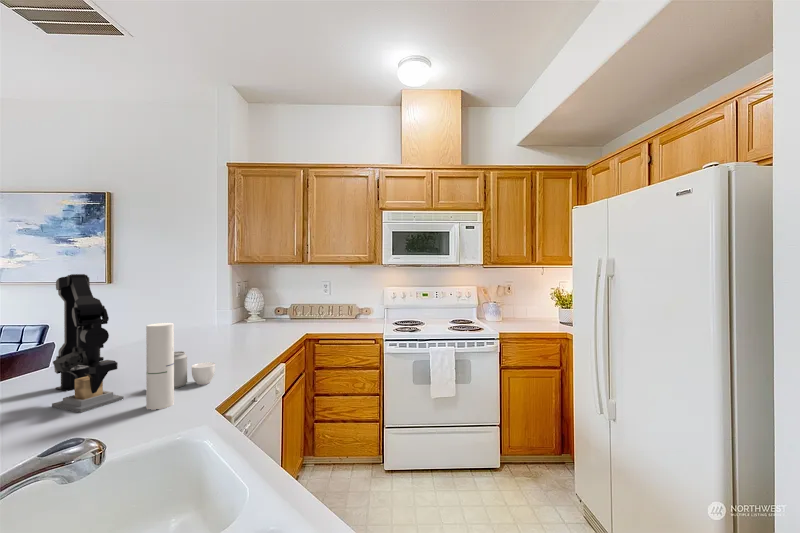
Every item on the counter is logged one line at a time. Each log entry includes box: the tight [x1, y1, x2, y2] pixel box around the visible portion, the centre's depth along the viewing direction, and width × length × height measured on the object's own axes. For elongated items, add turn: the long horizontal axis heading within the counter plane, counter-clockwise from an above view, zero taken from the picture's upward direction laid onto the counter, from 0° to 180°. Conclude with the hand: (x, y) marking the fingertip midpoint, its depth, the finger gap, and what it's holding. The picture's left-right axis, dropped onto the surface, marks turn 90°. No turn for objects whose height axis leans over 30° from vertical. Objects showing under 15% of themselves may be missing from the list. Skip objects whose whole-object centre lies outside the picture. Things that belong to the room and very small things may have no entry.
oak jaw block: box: [74, 376, 104, 400], centre depth 118 cm, size 5×5×6 cm
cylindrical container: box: [145, 322, 175, 411], centre depth 115 cm, size 7×7×25 cm
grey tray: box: [51, 390, 124, 414], centre depth 118 cm, size 14×12×2 cm
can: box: [174, 350, 188, 389], centre depth 135 cm, size 8×8×12 cm
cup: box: [191, 361, 216, 386], centre depth 138 cm, size 8×10×7 cm
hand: (88, 391), depth 118 cm, fingers closed on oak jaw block, 5 cm apart
